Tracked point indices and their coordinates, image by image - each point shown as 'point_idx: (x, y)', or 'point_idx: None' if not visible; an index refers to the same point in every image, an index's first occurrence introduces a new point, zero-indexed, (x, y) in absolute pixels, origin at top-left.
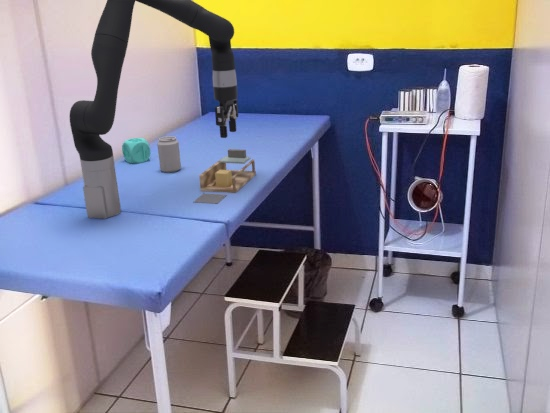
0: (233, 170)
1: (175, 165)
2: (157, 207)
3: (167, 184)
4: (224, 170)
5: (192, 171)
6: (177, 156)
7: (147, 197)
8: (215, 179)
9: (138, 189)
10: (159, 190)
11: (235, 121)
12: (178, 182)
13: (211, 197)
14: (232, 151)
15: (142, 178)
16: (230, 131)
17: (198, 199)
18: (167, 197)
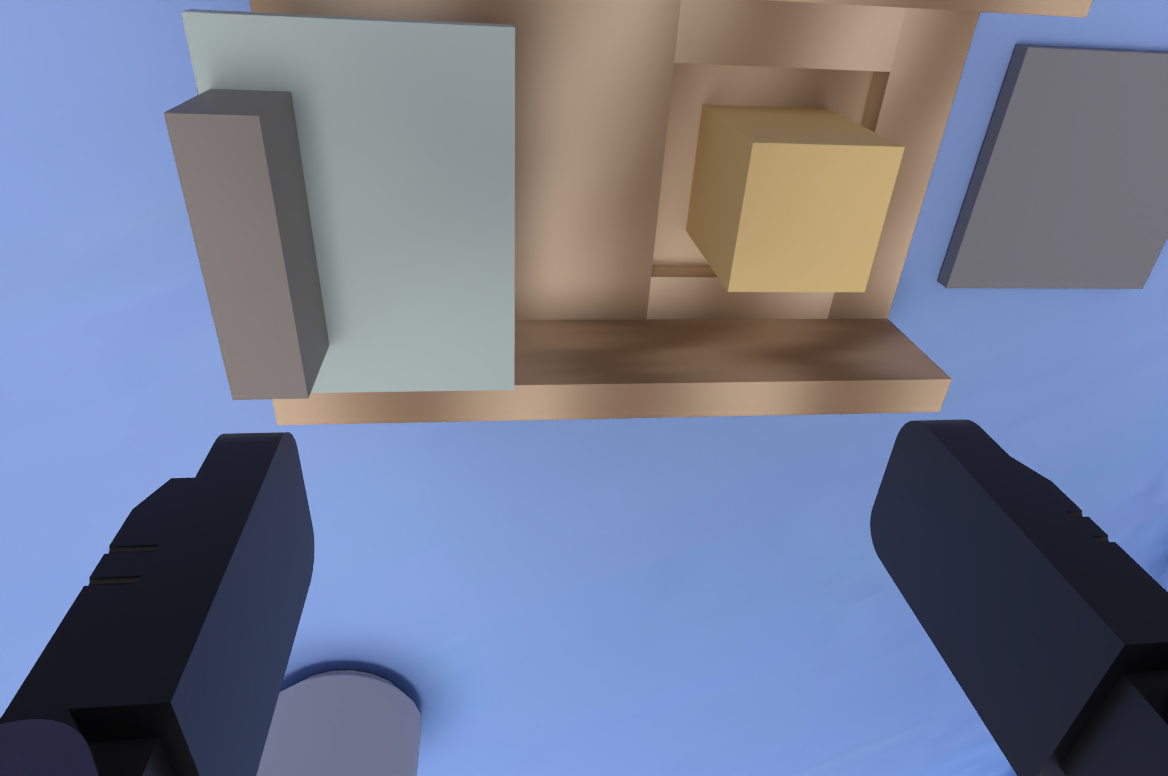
0: None
1: (375, 712)
2: (1128, 473)
3: (665, 603)
4: (766, 224)
5: (329, 584)
6: (333, 772)
7: None
8: (638, 310)
9: (766, 691)
10: (791, 594)
11: (123, 677)
12: (616, 563)
13: (1071, 177)
14: (299, 322)
15: (556, 757)
16: (312, 543)
17: (1094, 268)
18: None
